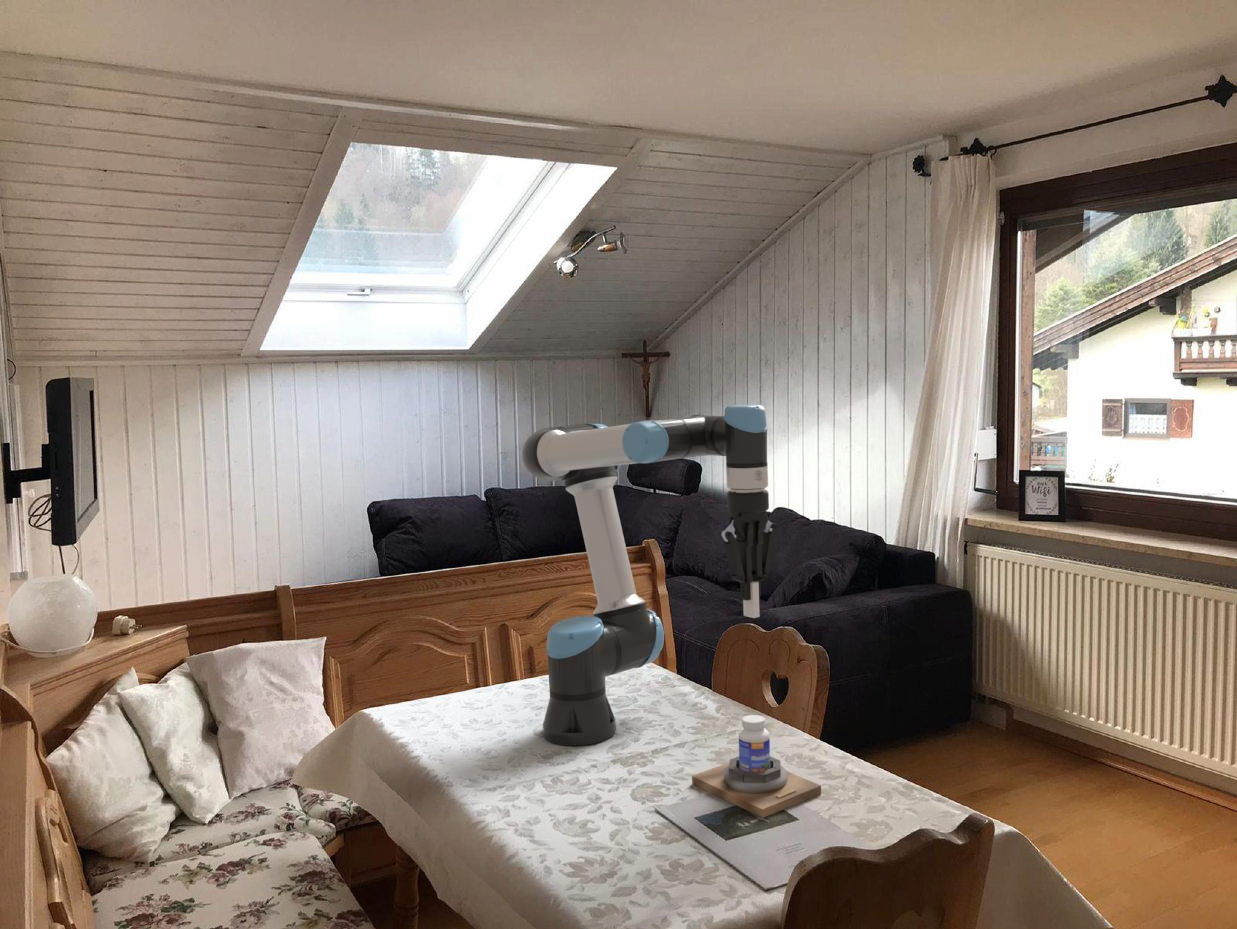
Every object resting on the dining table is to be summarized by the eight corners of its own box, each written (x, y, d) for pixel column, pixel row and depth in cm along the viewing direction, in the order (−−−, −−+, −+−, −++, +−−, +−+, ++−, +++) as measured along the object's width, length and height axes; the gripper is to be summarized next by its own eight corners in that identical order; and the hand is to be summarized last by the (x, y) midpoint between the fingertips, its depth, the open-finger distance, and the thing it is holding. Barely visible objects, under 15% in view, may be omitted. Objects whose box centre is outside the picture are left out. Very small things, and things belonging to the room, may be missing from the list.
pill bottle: (753, 781, 170) (752, 726, 170) (733, 771, 175) (731, 718, 174) (777, 773, 173) (775, 719, 172) (756, 763, 178) (754, 711, 177)
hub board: (692, 783, 178) (691, 759, 177) (749, 763, 186) (748, 739, 185) (762, 818, 163) (761, 791, 163) (821, 793, 171) (820, 768, 171)
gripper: (734, 495, 173) (739, 626, 176) (787, 487, 181) (791, 613, 183) (707, 491, 180) (711, 618, 182) (759, 484, 187) (763, 606, 189)
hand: (751, 616), depth 183 cm, fingers closed
